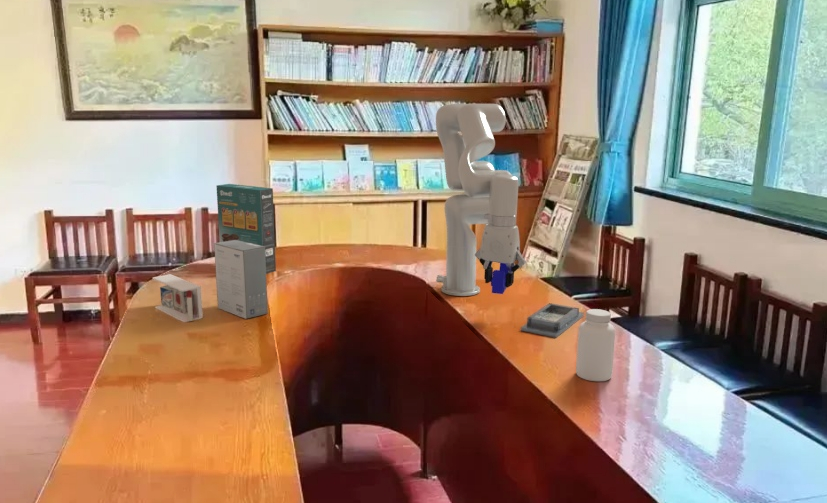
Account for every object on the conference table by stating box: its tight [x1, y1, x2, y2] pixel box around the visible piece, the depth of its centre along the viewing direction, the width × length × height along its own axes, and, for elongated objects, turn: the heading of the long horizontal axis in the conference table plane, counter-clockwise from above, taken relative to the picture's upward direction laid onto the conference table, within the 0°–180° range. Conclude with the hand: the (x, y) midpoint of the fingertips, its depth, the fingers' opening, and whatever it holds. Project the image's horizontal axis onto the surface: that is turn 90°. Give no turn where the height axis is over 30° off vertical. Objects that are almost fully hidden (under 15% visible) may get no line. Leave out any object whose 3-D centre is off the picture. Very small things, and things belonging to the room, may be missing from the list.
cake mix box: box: [216, 183, 277, 275], centre depth 243 cm, size 22×6×30 cm, turn 58°
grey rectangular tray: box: [520, 302, 585, 339], centre depth 188 cm, size 10×22×3 cm, turn 148°
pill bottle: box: [575, 308, 616, 382], centre depth 151 cm, size 8×8×15 cm
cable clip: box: [490, 263, 508, 295], centre depth 187 cm, size 12×4×6 cm, turn 162°
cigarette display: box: [152, 273, 204, 323], centre depth 193 cm, size 20×6×9 cm, turn 45°
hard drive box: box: [213, 240, 269, 320], centre depth 194 cm, size 16×8×20 cm, turn 47°
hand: (498, 283), depth 187 cm, fingers closed on cable clip, 5 cm apart
